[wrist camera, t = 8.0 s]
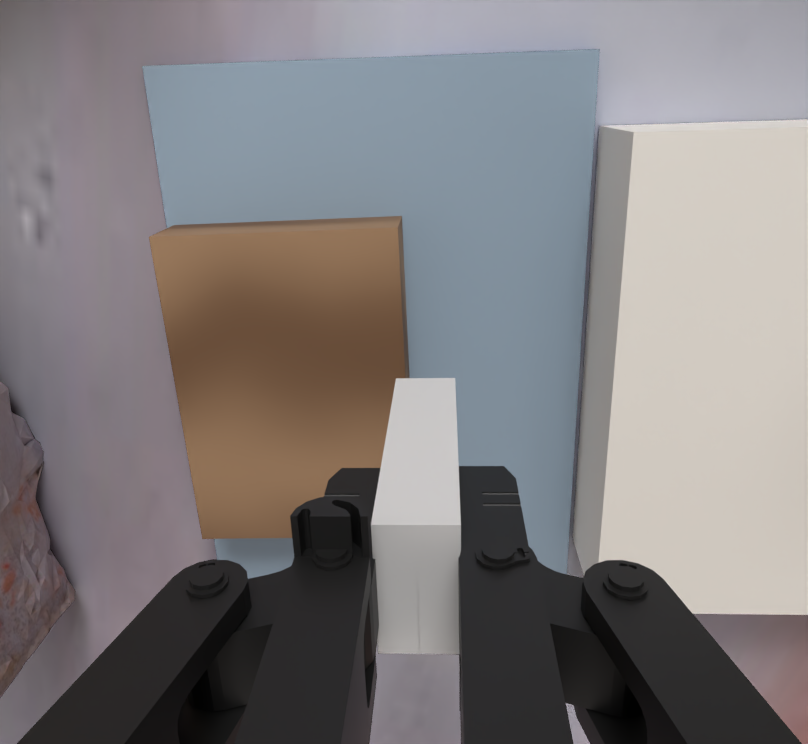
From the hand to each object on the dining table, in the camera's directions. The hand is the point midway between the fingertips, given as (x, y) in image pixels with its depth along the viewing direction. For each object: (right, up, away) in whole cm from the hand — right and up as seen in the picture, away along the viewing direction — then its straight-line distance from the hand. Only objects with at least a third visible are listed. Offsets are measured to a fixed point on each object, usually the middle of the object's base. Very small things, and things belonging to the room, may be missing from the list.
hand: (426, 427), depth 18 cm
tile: (-4, +1, +3) cm, 5 cm away
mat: (-1, +2, +5) cm, 6 cm away
